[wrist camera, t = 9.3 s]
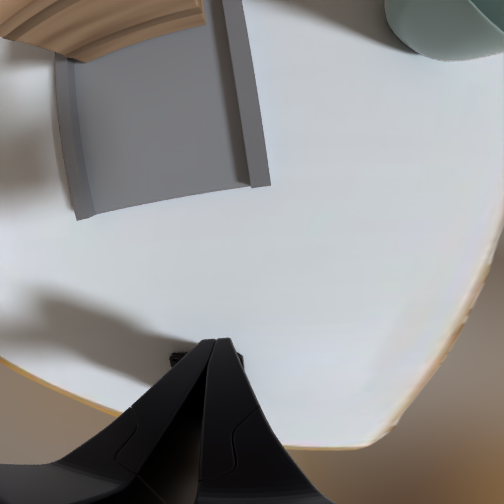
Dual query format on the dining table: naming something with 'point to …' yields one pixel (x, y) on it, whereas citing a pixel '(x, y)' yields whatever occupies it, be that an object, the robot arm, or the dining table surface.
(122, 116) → the bay
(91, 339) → the dining table surface
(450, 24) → the cup
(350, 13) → the dining table surface
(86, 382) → the dining table surface
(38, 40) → the brown wooden block
